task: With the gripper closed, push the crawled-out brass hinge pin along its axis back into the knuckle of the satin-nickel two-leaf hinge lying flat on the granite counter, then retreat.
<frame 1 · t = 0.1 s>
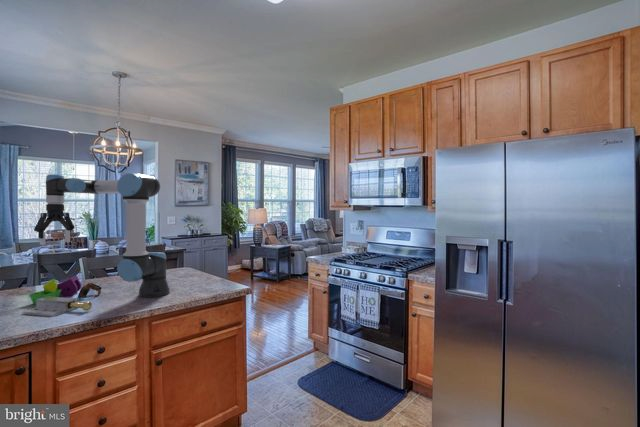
hand: (55, 243, 175), 28 cm above the table, tool pointing down, fingers open, 13 cm apart
pin: (71, 305, 151), point 3 cm above the table, slide at 7.0 cm
fruit basket: (47, 302, 164), on the table
mounting bracket: (58, 296, 176), on the table
hinge: (56, 309, 152), on the table
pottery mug: (88, 297, 174), on the table
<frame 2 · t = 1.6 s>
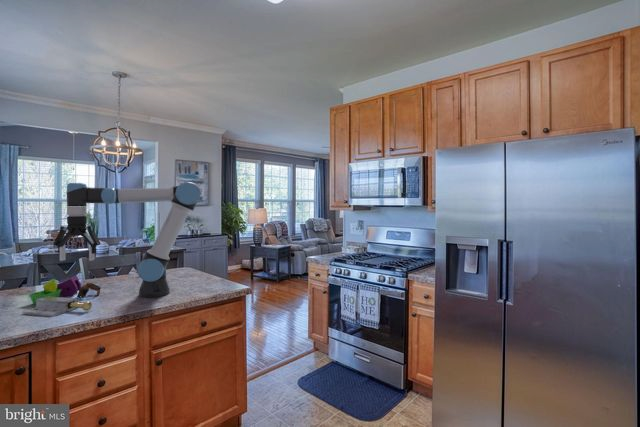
hand: (77, 260, 156), 22 cm above the table, tool pointing down, fingers open, 13 cm apart
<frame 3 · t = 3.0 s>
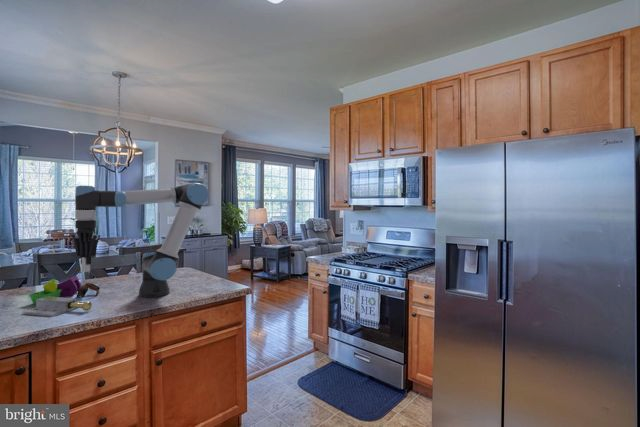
hand: (86, 271, 149), 18 cm above the table, tool pointing down, fingers closed
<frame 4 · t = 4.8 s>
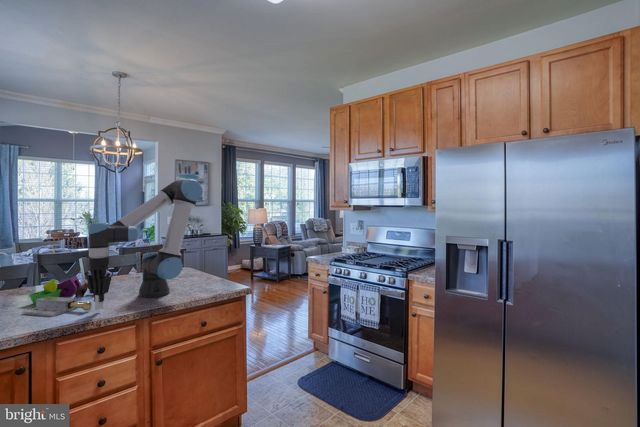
hand: (99, 308, 148), 2 cm above the table, tool pointing down, fingers closed
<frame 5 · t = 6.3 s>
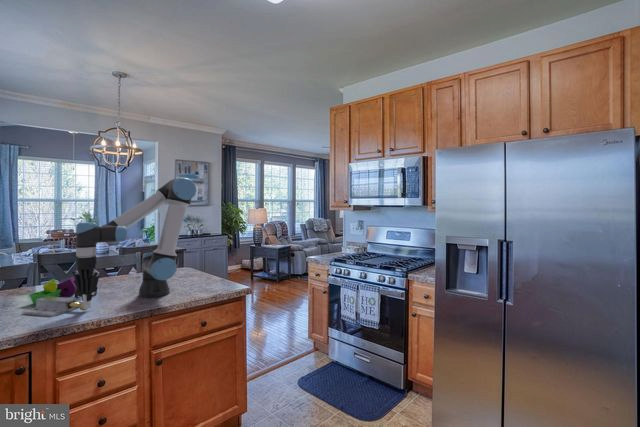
hand: (86, 307, 149), 2 cm above the table, tool pointing down, fingers closed
pin: (69, 304, 151), point 3 cm above the table, slide at 5.5 cm, touching gripper
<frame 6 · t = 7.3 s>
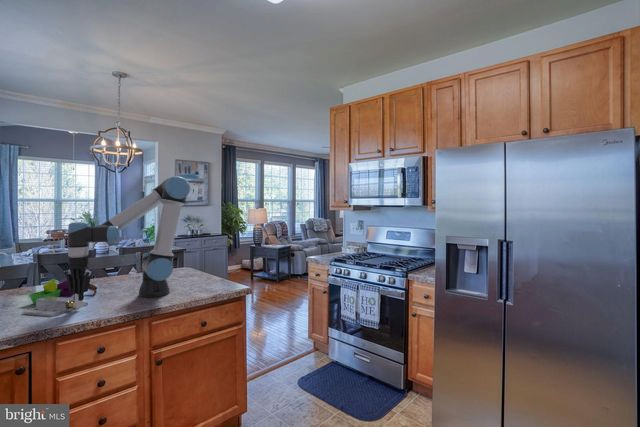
hand: (78, 307, 150), 2 cm above the table, tool pointing down, fingers closed
pin: (61, 304, 152), point 2 cm above the table, slide at 1.3 cm, touching gripper
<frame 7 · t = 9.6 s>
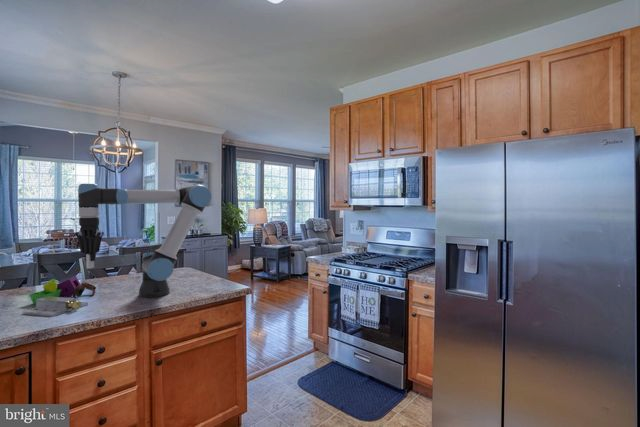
hand: (90, 267, 152), 19 cm above the table, tool pointing down, fingers closed
pin: (61, 304, 152), point 2 cm above the table, slide at 1.1 cm
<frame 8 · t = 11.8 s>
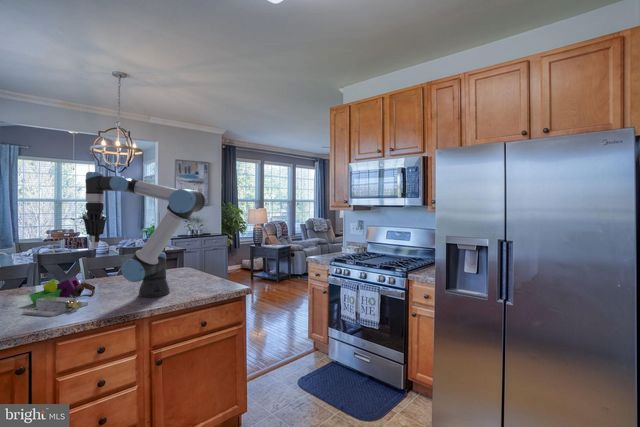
hand: (94, 248, 168), 26 cm above the table, tool pointing down, fingers closed
mounting bracket: (56, 296, 176), on the table, touching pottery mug
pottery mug: (82, 296, 175), on the table, touching mounting bracket
everything else where it was.
at the end: pin slide at 1.1 cm; pin touching nothing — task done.
